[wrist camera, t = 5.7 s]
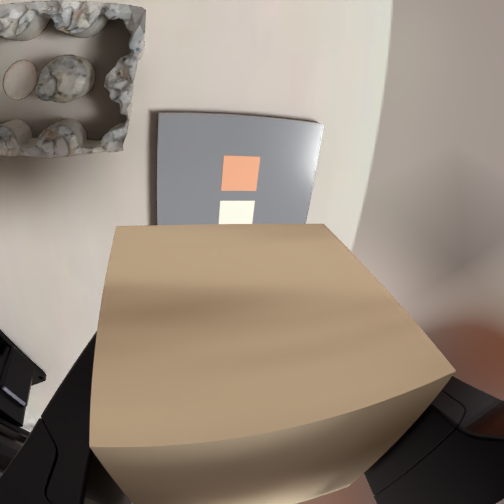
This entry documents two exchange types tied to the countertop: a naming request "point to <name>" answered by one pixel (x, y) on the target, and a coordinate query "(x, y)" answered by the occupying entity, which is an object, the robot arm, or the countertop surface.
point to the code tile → (235, 168)
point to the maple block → (250, 365)
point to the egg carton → (67, 74)
